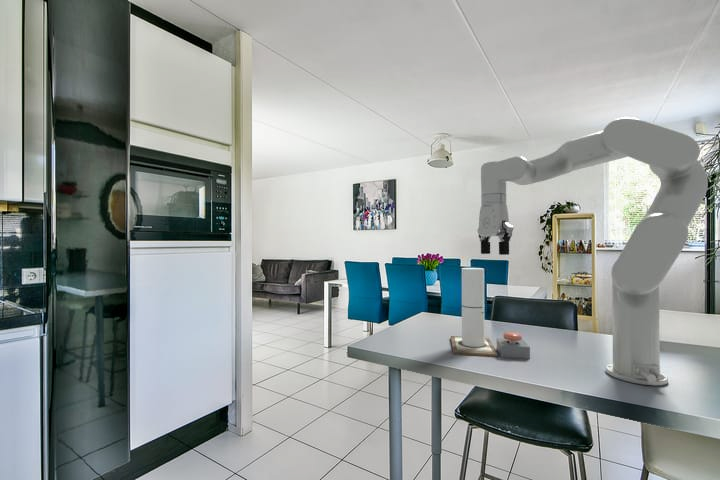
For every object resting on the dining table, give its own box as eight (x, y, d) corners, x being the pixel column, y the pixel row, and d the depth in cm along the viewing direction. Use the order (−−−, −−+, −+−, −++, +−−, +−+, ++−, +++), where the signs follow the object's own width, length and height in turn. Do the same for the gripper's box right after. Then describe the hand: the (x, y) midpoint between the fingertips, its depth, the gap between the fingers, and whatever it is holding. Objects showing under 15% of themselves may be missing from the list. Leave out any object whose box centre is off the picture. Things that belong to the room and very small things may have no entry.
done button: (523, 349, 105) (523, 337, 105) (505, 347, 106) (505, 336, 106) (519, 344, 110) (519, 332, 110) (502, 343, 111) (502, 331, 111)
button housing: (529, 358, 103) (529, 347, 103) (501, 357, 105) (501, 345, 105) (523, 350, 111) (523, 339, 111) (496, 348, 113) (496, 338, 113)
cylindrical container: (457, 342, 117) (457, 268, 117) (474, 339, 120) (474, 267, 120) (471, 348, 110) (470, 269, 111) (489, 345, 113) (488, 269, 113)
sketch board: (497, 356, 105) (497, 353, 105) (453, 353, 108) (453, 350, 108) (488, 340, 123) (488, 337, 123) (450, 338, 125) (450, 335, 125)
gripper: (468, 203, 119) (469, 253, 119) (500, 197, 102) (501, 255, 102) (488, 204, 121) (488, 253, 120) (522, 197, 104) (523, 254, 103)
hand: (494, 254), depth 111 cm, fingers open, 9 cm apart
